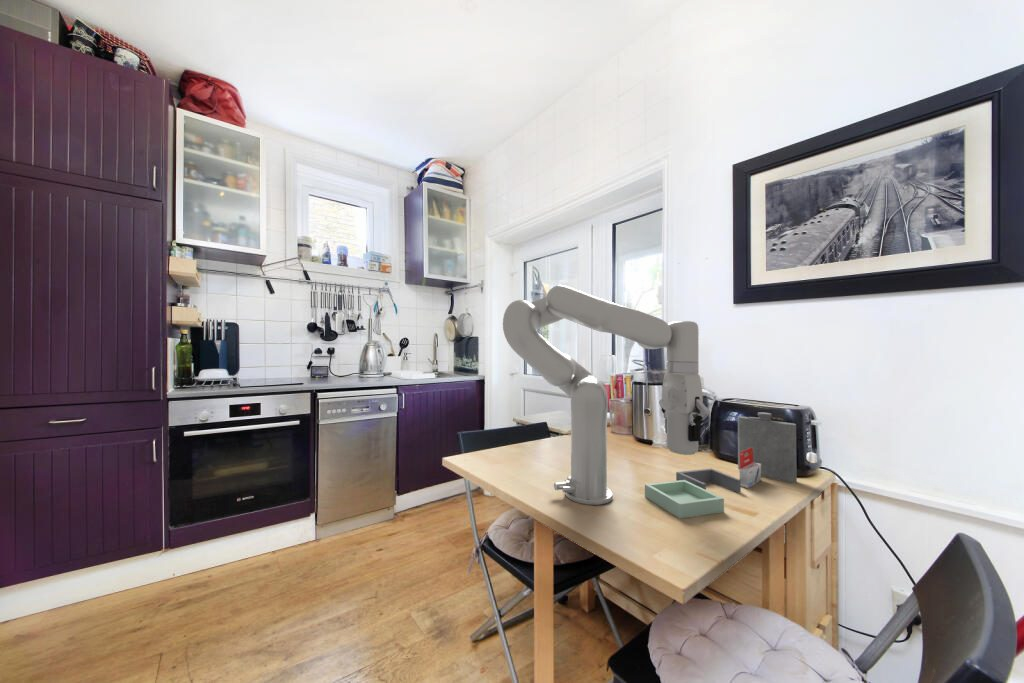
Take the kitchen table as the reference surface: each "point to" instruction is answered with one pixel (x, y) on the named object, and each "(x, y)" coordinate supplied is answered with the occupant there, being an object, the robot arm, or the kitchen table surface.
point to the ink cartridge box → (749, 469)
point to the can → (679, 433)
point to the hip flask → (769, 445)
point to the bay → (710, 478)
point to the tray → (684, 498)
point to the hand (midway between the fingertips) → (682, 436)
